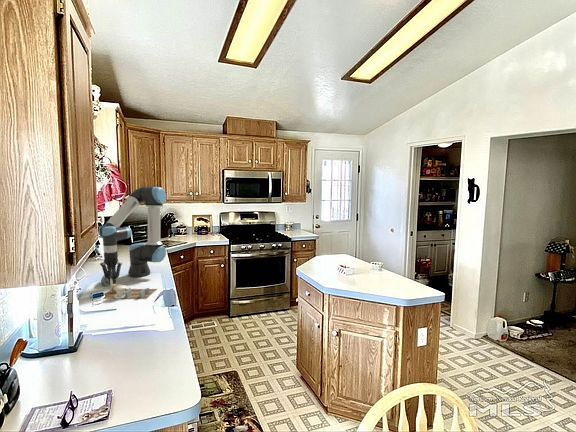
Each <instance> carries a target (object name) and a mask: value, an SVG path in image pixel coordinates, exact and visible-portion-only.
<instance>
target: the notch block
mask: <svg viewBox="0 0 576 432" xmlns="http://www.w3.org/2000/svg"><path fill="white" fill-rule="evenodd" d="M128 289H129V290H128V291H127V292H125V295H126V298H128V297H130V296H131V289H132V288H131V287H129V288H128ZM142 289H143V290H142V291H140V292H139V297H140V298H142V297H143V296H145V295H147V294H149V289H150V288H149V287H145V288H142Z"/></svg>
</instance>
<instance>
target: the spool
mask: <svg viewBox="0 0 576 432" xmlns="http://www.w3.org/2000/svg"><path fill="white" fill-rule="evenodd" d="M117 279H118V278H116V280H117ZM100 283H101V285H103V286H104V287H109V286H110V284H109V279H108V278H105V275H104V274H103V276H102V277H101V279H100Z"/></svg>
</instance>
